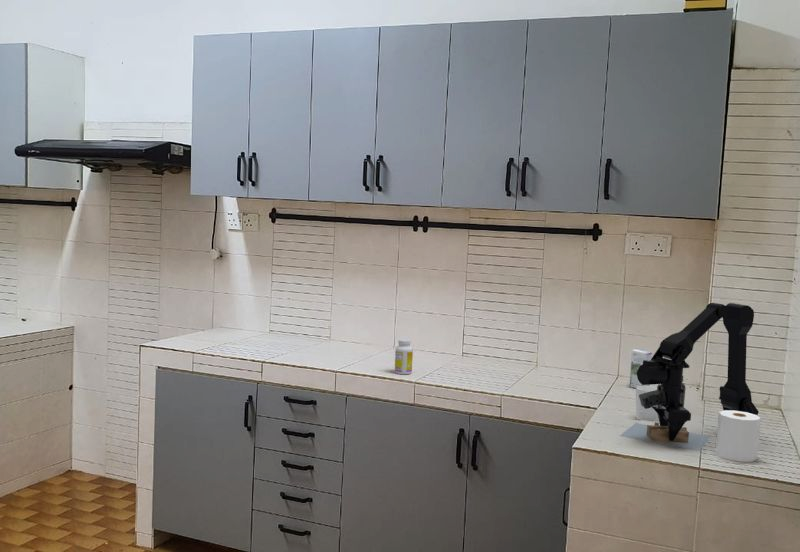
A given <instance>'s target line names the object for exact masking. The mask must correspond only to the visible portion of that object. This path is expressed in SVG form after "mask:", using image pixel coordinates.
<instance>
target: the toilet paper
mask: <svg viewBox="0 0 800 552" xmlns="http://www.w3.org/2000/svg"><path fill="white" fill-rule="evenodd" d="M717 419H718V420H717V427H716V441H715V453H716V455H717V456H718V457H721V458H723V459H726V460H730V461H735V462H741V463H742V462H743V463H747V462H754V461H756V460H758V452H759V442H760V441H759V440H760V431H761V430H760V429H761V417H760V416H758V415H754V414H751V413H748V412H741V411H735V410H723V409H722V410H721V411H718V416H717Z"/></svg>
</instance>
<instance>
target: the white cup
mask: <svg viewBox="0 0 800 552" xmlns="http://www.w3.org/2000/svg"><path fill="white" fill-rule="evenodd" d="M655 390H657V386H652V385H650V386H637V387H636V389H635V418H636V419H637V420H638V421H647V422H648V421H649V422H659V419H658V414H657V413H656V411H655V410H654V409H653V408H652V407H651V408H648V409H645V408H644V407H643V406H642V405H641V402H640V398H639V395H640V394H643V393H647V392H650V391H655Z"/></svg>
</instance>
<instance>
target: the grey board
mask: <svg viewBox="0 0 800 552" xmlns="http://www.w3.org/2000/svg"><path fill="white" fill-rule="evenodd" d="M647 425H648V424H645V423H639V422H635V423H633V424H632V425H631V426H630V427H628V428H627V429H626V430H624V432H622V433H621V434H620V435H619V436H620V437H624V438H629V439H634V440H640V441H644V442H649V443H650V442H651V443H655V444H660V445H666V446H672V447H676V448H677V447H678V448H682V449H683V448H684V449H686V450H687V449H688V450H691V451H692V450H694V451H699V452H700V451H701V450H702V449H703V447H704V446H705V445H706V444H707V442H708V441H709V440H710V439H711V438H712V436H711V435H707V434H701V433H696V432H695V433H694V432H690V431H688V428H687V427H685V426H682V427H683V428H684V429H685V430H686V431H688V432H689V438H688V443H681V442H661V441H652V440H651V439H650V438H649V437H648V436H647ZM654 425H658V426H660V424H659V421H654Z"/></svg>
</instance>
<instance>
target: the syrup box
mask: <svg viewBox="0 0 800 552" xmlns="http://www.w3.org/2000/svg"><path fill="white" fill-rule="evenodd" d="M652 357H653V350H647V349H642V348H641V349H640V348H635V349H632V350H631V363H630V373H629V374H630V377H629V388H631V389H635V390H636V387H637V386H651V385H642V384H641V383H640V382H639V380H638V378H637V370H638V368H639V367H640V366H641V365H643V360H648V361H651V358H652Z"/></svg>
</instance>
